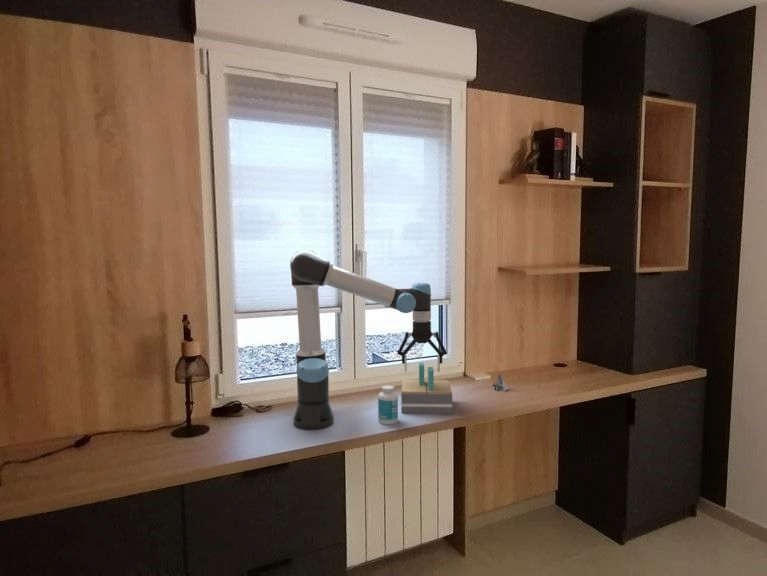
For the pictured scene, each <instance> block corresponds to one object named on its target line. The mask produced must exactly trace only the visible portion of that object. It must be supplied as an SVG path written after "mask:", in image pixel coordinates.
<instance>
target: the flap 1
mask: <svg viewBox="0 0 767 576" xmlns="http://www.w3.org/2000/svg"><path fill="white" fill-rule="evenodd" d="M425 383H426V380H425V363H424V362H418V379H415V380H414V379H402V380H401V391H402V394H426V386H425Z"/></svg>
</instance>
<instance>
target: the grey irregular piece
mask: <svg viewBox="0 0 767 576" xmlns="http://www.w3.org/2000/svg"><path fill="white" fill-rule="evenodd" d="M491 389H493V390H494V391H498V392H499V391H500V392H503V393H504V392H509V390H510V389H509V387H508V385H507V384H506V382H505V381H503V375H502V373H500V374H499V375H498V376H497V380H495V382H494V383H493V385H492V386H491Z"/></svg>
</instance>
